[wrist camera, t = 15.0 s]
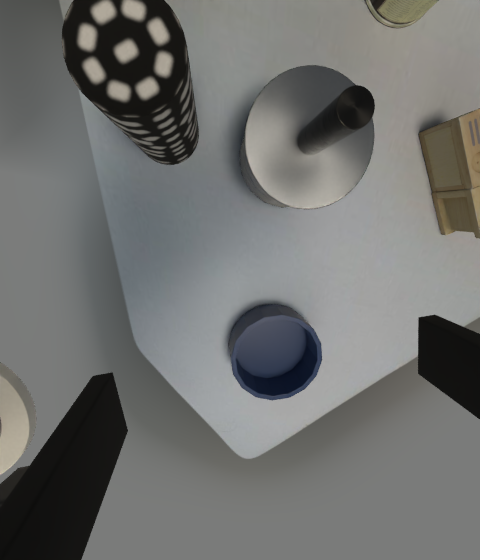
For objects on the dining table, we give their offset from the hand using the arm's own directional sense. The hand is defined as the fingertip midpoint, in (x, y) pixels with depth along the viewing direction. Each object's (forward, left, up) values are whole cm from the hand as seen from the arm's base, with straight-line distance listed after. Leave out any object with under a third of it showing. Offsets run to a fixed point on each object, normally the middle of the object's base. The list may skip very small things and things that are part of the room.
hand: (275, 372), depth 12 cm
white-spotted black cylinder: (-6, +18, -33) cm, 38 cm away
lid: (+10, +13, -23) cm, 28 cm away
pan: (+5, -15, -33) cm, 36 cm away
